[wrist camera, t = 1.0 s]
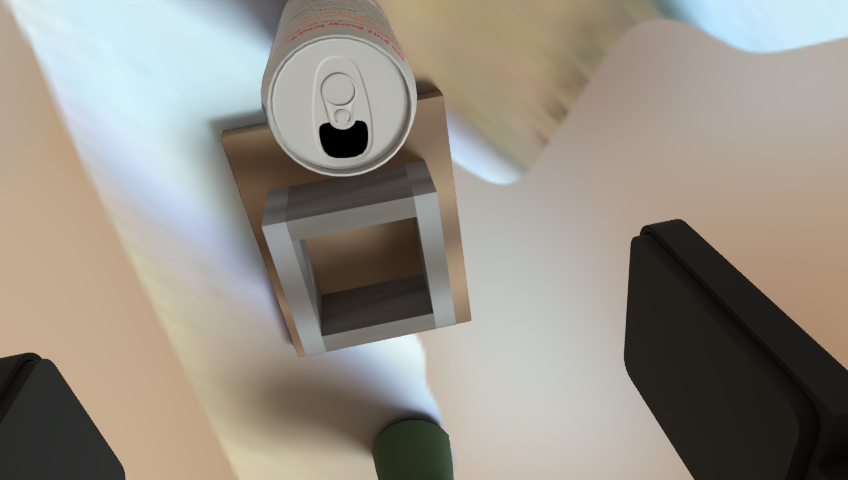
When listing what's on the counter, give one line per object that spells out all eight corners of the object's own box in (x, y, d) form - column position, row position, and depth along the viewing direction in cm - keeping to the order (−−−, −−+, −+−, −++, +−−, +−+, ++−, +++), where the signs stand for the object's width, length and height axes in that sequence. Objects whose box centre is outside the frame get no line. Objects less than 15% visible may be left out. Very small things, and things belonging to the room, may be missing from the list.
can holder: (222, 131, 31) (207, 169, 27) (439, 90, 32) (458, 121, 28) (298, 347, 40) (296, 402, 36) (468, 311, 40) (485, 361, 36)
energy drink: (288, 87, 30) (272, 188, 20) (272, -24, 28) (244, 30, 18) (389, 80, 31) (422, 175, 21) (383, -28, 28) (418, 21, 18)
